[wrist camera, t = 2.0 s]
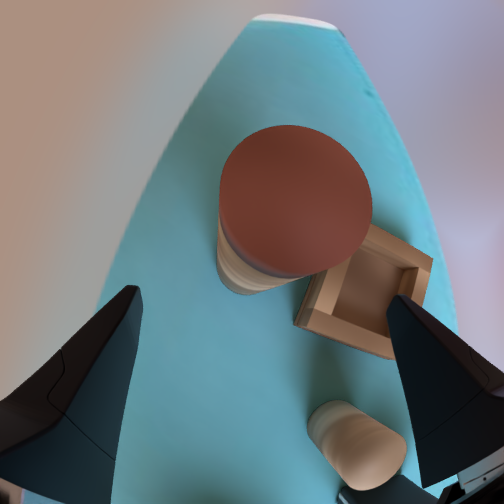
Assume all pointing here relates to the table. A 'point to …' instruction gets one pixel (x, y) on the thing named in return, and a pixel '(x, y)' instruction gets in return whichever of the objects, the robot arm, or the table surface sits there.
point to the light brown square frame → (365, 293)
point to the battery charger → (388, 493)
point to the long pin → (288, 208)
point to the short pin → (356, 444)
